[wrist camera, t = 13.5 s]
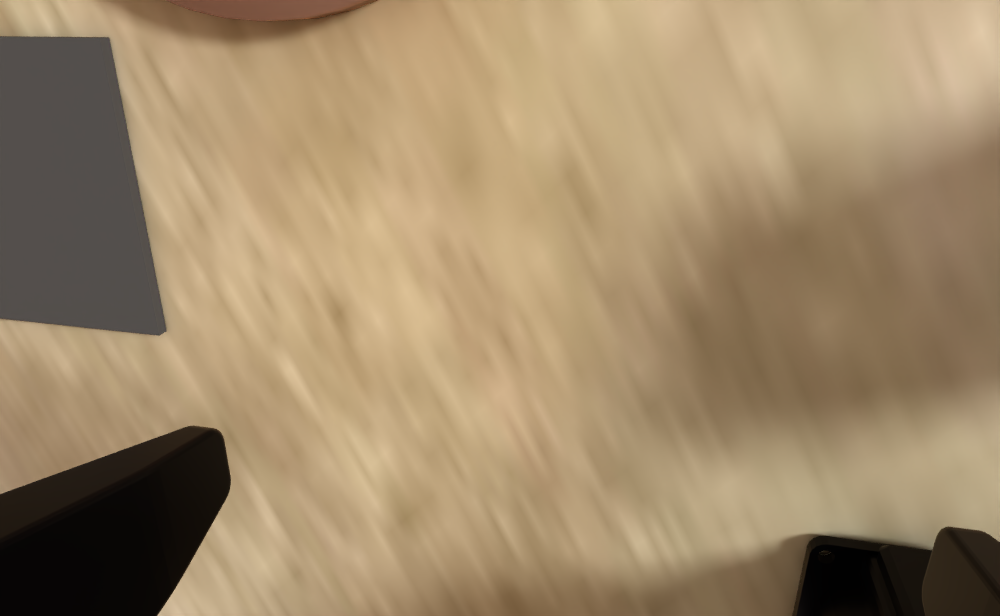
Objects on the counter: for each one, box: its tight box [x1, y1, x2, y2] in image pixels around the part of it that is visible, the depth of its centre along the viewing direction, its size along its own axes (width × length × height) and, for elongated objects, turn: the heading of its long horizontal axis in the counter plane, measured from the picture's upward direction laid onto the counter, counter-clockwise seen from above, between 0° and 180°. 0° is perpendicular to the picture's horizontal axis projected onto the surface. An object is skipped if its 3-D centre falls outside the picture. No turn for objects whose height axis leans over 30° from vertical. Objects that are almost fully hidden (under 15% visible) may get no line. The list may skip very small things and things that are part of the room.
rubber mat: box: [0, 36, 166, 335], centre depth 25 cm, size 10×10×1 cm
